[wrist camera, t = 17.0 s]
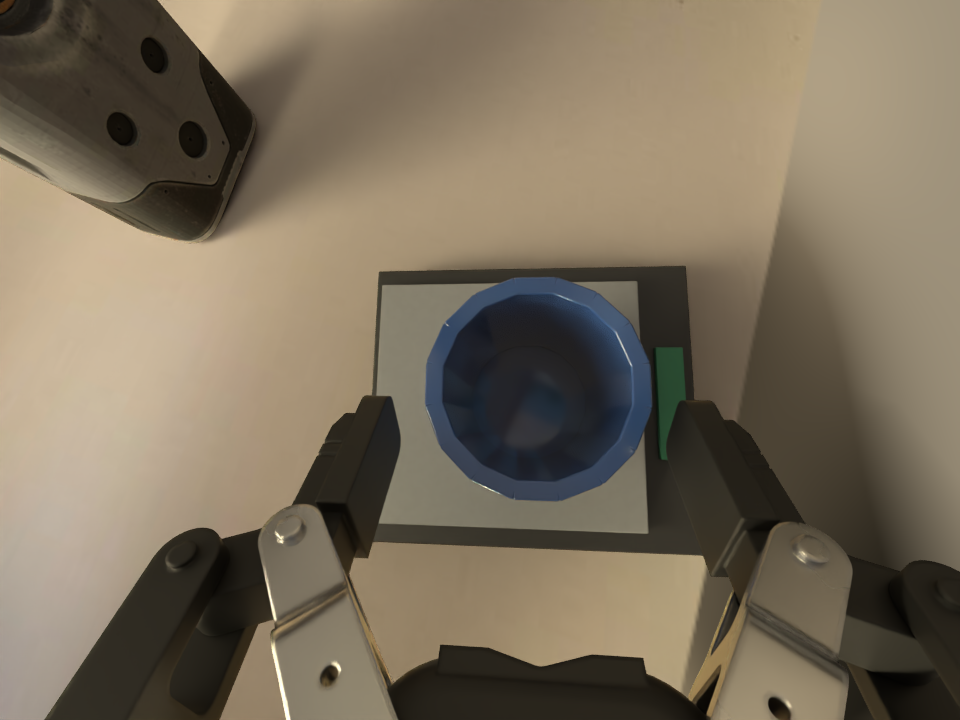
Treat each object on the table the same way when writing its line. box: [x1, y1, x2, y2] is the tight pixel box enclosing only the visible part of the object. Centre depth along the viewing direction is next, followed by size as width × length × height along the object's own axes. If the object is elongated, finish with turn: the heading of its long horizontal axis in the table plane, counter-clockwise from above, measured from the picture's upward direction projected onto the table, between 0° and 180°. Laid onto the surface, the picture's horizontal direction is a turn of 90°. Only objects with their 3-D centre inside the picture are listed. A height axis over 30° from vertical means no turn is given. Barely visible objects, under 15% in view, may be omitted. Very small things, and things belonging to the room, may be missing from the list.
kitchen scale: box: [372, 266, 703, 556], centre depth 20 cm, size 15×13×3 cm
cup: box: [425, 277, 652, 502], centre depth 15 cm, size 6×6×8 cm
